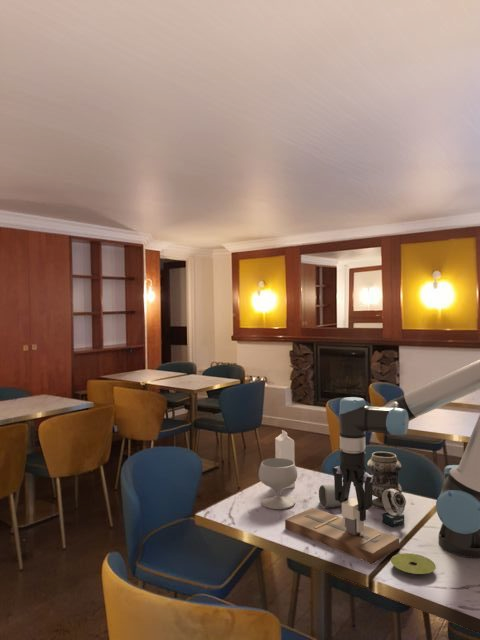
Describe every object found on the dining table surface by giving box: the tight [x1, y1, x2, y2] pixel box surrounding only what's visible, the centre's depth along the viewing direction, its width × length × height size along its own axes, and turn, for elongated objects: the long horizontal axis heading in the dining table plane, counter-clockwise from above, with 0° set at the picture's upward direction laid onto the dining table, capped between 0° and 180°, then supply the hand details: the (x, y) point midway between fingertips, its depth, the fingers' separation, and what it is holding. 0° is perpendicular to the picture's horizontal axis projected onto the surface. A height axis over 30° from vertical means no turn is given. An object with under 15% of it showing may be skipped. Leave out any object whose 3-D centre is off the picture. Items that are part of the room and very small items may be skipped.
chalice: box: [258, 457, 298, 510], centre depth 179 cm, size 14×14×15 cm
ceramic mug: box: [318, 484, 341, 509], centre depth 178 cm, size 11×8×8 cm
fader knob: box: [341, 497, 360, 535], centre depth 147 cm, size 4×6×9 cm, turn 133°
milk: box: [274, 429, 296, 490], centre depth 198 cm, size 6×6×22 cm
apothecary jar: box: [366, 451, 403, 510], centre depth 178 cm, size 12×12×18 cm
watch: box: [381, 489, 407, 529], centre depth 161 cm, size 6×8×11 cm
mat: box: [390, 552, 436, 575], centre depth 131 cm, size 11×11×2 cm
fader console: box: [284, 507, 400, 565], centre depth 151 cm, size 32×14×3 cm, turn 43°
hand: (353, 528), depth 147 cm, fingers closed on fader knob, 4 cm apart
